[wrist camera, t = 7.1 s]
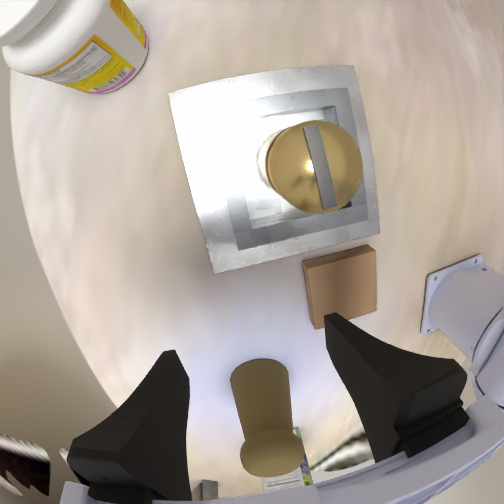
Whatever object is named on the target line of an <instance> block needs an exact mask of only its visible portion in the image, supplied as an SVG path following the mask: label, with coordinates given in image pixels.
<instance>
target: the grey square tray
mask: <svg viewBox="0 0 504 504" xmlns="http://www.w3.org/2000/svg"><path fill="white" fill-rule="evenodd" d="M168 96H169V100H170V105H171V109H172V114H173V118H174V122H175V127H176V131H177V135H178V140H179V144H180V148H181V152H182V156H183V160H184V164H185V168H186V172H187V176H188V180H189V184H190V188H191V192H192V195H193V199H194V203H195V207H196V210H197V214H198V218H199V221H200V225H201V229H202V232H203V236H204V239H205V243H206V246H207V250H208V253H209V257H210V260H211V264H212V267H213V270H214V274H217V273H221V272H225V271H230V270H234V269H238V268H242V267H246V266H250V265H255V264H259V263H263V262H267V261H271V260H275V259H279V258H284V257H288V256H292V255H296V254H300V253H304V252H308V251H312V250H316V249H320V248H324V247H328V246H332V245H336V244H340V243H344V242H348V241H352V240H356V239H360V238H364V237H368V236H371V235H375V234H379V233H380V225H379V211H378V200H377V190H376V181H375V172H374V165H373V158H372V151H371V145H370V139H369V133H368V127H367V122H366V117H365V112H364V107H363V102H362V98H361V93H360V89H359V85H358V81H357V77H356V73H355V69H354V65H339V66H316V67H303V68H292V69H283V70H275V71H267V72H260V73H254V74H248V75H242V76H237V77H232V78H227V79H222V80H217V81H213V82H208V83H204V84H200V85H196V86H192V87H188V88H185V89H181V90H178V91H174V92H171V93H168ZM311 120H323V121H328V122H332V123H334V124H336V125H338V126H340V127H342V128H343V129H344V130H346V131H347V132H348V133H349V134H350V135H351V136H352V137H353V139H354V140H355V142H356V143H357V145H358V147H359V150H360V152H361V156H362V161H363V175H362V180H361V183H360V186H359V188H358V190H357V192H356V194H355V195H354V197H353V198H352V199H351V200H350V201H349V202H348V203H347V204H346V205H344V206H343V207H342V208H340V209H338V210H336V211H333V212H331V213H326V214H311V213H306V212H303V211H301V210H299V209H297V208H295V207H294V206H292V205H291V204H290V203H288V202H287V201H286V200H285V199H284V198H282V197H281V196H280V195H279V194H277V193H276V192H275V191H274V190H273V189H271V188H270V187H269V186H268V185H267V184H266V182H265V181H264V180H263V178H262V176H261V173H260V170H259V163H258V161H259V153H260V150H261V148H262V146H263V144H264V142H265V141H266V140H267V139H268V138H269V137H270V136H271V135H272V134H274V133H275V132H277V131H279V130H282V129H285V128H288V127H291V126H294V125H296V124H299V123H302V122H306V121H311Z"/></svg>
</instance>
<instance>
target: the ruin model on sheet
mask: <svg viewBox="0 0 504 504" xmlns="http://www.w3.org/2000/svg"><path fill="white" fill-rule="evenodd" d="M202 485H203V495H202ZM191 495H192V500H193V501H207V500H212V499H218V484H217V481H210V480H202V484H201V483H200V484H199V485H198V486H197V488H196V489H195V490H194V491H193V492H192V493H191Z"/></svg>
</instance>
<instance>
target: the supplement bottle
mask: <svg viewBox="0 0 504 504" xmlns="http://www.w3.org/2000/svg"><path fill="white" fill-rule="evenodd" d="M0 47H2V51H3V56H4V59H5V61H6V62H7V64H8V65H9V66H10V67H11V68H12V69H13V70H15V71H17V72H20V73H23V74H26V75H30V76H34V77H38V78H41V79H45V80H48V81H51V82H55V83H58V84H61V85H65V86H68V87H71V88H74V89H77V90H80V91H83V92H87V93H92V94H103V93H108V92H111V91H113V90H116V89H118V88H120V87H121V86H123V85H125V84H126V83H127V82H129V81H130V80H131V79H132V78H133V77H134V76H135V75H136V74H137V72H138V71H139V70H140V68H141V67H142V65H143V63H144V61H145V59H146V56H147V52H148V38H147V35H146V32H145V31H144V29H143V27H142V26H141V24H140V23H139V22H138V20H137V19H136V17H135V16H134V15H133V13H132V12H131V11H130V9H129V8H128V6H127V5H126V4H125V2H124V1H123V0H0Z"/></svg>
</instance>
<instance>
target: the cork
mask: <svg viewBox="0 0 504 504" xmlns="http://www.w3.org/2000/svg"><path fill="white" fill-rule="evenodd" d="M230 382H231V387H232V391H233V395H234V399H235V403H236V407H237V411H238V415H239V419H240V422H241V426H242V430H243V434H244V437H245V442H244V443H243V445H242V447H241V451H240V458H241V462H242V465H243V467H244V469H245V470H246V471H247V472H248V473H250V474H252V475H255V476H258V477H277V476H282V475H286V474H288V473H291V472H292V471H294V470H296V469H297V468H298V467H299V466H300V465H301V464H302V462H303V459H304V447H303V444H302V442H301V441H300V439H299V438H298V436H297V435H295V434H294V433H293V423H292V410H291V398H290V387H289V376H288V371H287V369H286V367H285V366H283V365H282V364H281V363H279V362H277V361H274V360H269V359H258V360H252V361H249V362H246V363H243V364H242V365H240V366H239V367H237V368H236V369H235V371H234V372H233V373H232V375H231V378H230Z"/></svg>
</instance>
